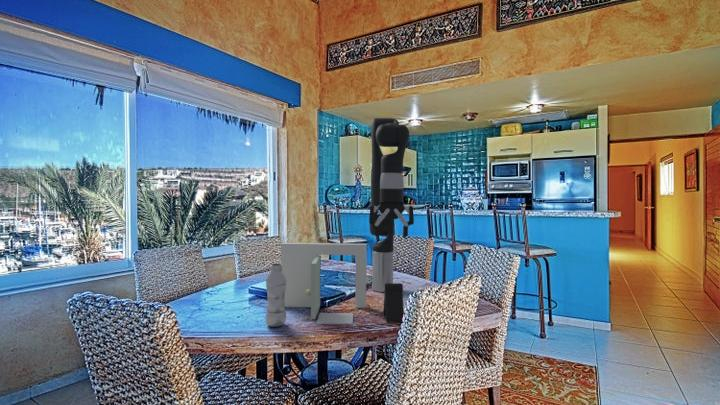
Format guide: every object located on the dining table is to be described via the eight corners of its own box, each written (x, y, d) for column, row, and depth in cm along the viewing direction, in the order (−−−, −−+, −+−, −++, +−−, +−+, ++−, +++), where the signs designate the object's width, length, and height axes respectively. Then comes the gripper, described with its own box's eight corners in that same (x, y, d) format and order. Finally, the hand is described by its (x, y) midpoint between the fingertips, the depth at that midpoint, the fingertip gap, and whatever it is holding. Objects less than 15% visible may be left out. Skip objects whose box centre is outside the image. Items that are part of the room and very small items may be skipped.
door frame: (282, 305, 145) (282, 242, 144) (365, 306, 145) (366, 243, 144) (269, 323, 126) (269, 251, 125) (366, 324, 126) (366, 252, 125)
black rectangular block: (403, 322, 129) (404, 287, 128) (386, 322, 128) (386, 287, 128) (399, 313, 138) (400, 280, 137) (383, 313, 137) (383, 280, 137)
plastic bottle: (267, 322, 127) (267, 262, 126) (287, 321, 128) (287, 262, 127) (263, 329, 121) (263, 267, 120) (285, 329, 121) (285, 266, 121)
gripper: (412, 187, 126) (411, 236, 126) (369, 187, 126) (368, 236, 127) (415, 187, 118) (414, 239, 119) (369, 187, 118) (369, 239, 119)
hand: (390, 237), depth 123 cm, fingers open, 8 cm apart
